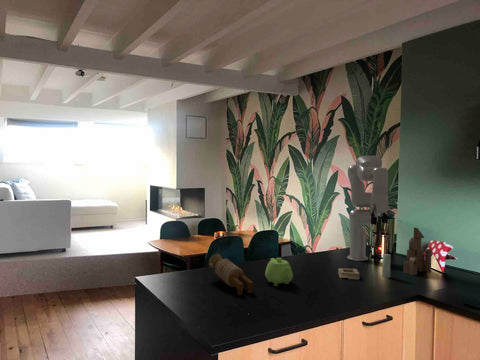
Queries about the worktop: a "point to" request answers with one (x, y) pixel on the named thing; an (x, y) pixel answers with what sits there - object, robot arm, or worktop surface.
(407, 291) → the worktop surface
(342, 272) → the tan rectangular frame
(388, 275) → the dowel
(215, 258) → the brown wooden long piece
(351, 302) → the worktop surface
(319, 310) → the worktop surface
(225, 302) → the worktop surface
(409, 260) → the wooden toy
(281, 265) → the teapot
